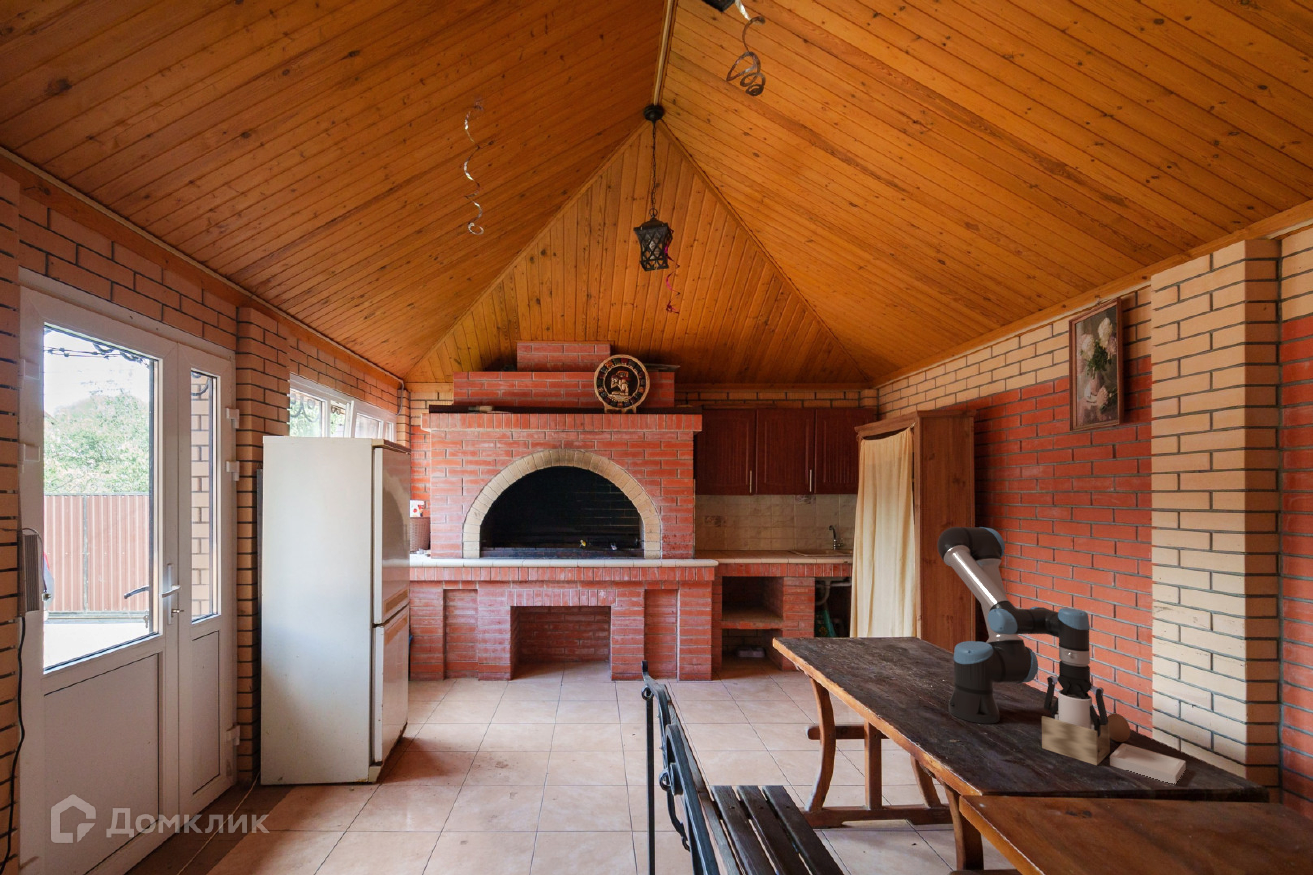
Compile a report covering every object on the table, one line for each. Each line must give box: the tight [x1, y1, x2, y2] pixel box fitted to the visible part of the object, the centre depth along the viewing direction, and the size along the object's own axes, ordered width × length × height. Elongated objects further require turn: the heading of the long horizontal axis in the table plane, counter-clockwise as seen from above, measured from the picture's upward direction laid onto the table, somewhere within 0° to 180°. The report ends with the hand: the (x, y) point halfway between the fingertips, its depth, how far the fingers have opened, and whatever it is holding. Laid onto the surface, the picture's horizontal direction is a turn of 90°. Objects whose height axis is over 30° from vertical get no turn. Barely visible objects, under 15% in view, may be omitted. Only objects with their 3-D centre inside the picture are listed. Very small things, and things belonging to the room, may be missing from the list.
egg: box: [1107, 712, 1131, 743], centre depth 184 cm, size 6×6×8 cm
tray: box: [1109, 742, 1187, 784], centre depth 166 cm, size 14×14×2 cm
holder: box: [1041, 712, 1111, 766], centre depth 176 cm, size 13×13×9 cm
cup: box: [1057, 689, 1093, 729], centre depth 177 cm, size 8×8×16 cm
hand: (1075, 741), depth 176 cm, fingers closed on cup, 8 cm apart
